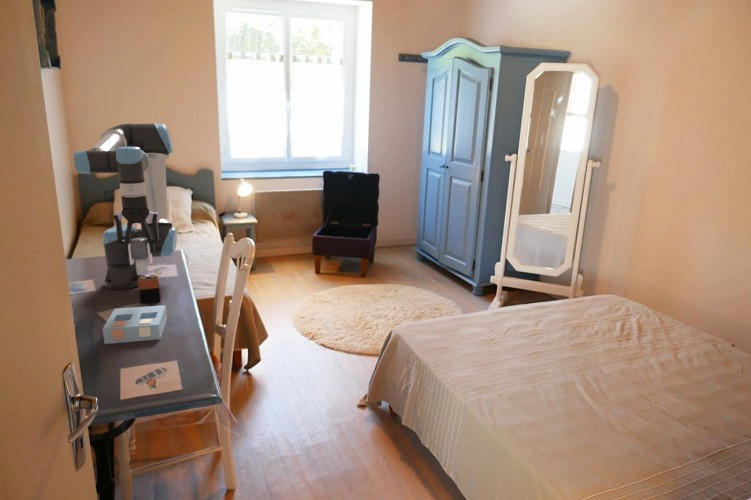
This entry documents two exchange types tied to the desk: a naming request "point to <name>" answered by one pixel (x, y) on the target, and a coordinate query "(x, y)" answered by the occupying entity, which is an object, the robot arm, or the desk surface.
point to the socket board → (135, 324)
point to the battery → (149, 289)
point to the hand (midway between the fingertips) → (141, 262)
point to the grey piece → (140, 254)
